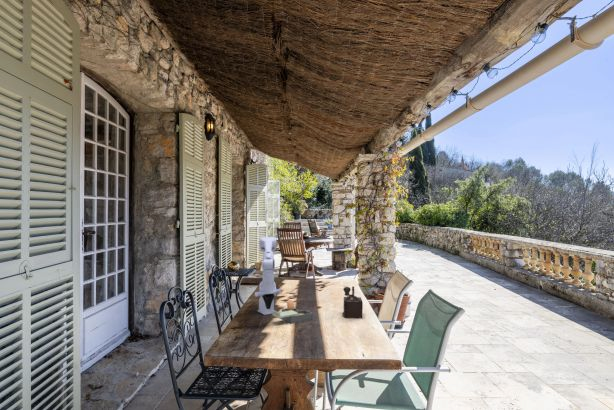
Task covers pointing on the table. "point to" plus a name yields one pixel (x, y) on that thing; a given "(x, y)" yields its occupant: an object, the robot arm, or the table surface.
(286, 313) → the lid
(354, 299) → the manual coffee grinder
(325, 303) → the table surface
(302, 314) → the housing
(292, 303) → the tan cylindrical peg
